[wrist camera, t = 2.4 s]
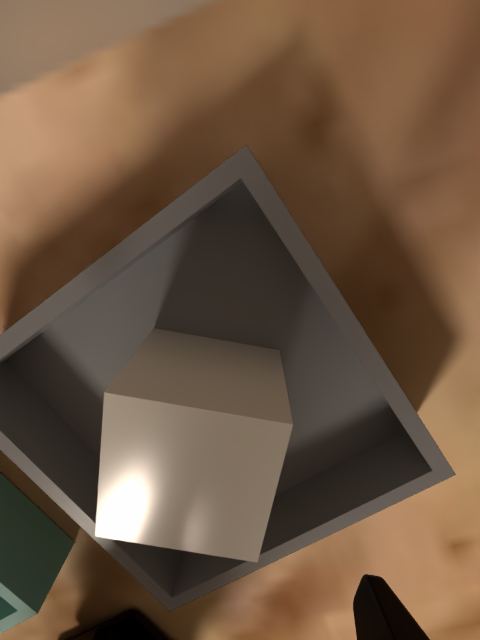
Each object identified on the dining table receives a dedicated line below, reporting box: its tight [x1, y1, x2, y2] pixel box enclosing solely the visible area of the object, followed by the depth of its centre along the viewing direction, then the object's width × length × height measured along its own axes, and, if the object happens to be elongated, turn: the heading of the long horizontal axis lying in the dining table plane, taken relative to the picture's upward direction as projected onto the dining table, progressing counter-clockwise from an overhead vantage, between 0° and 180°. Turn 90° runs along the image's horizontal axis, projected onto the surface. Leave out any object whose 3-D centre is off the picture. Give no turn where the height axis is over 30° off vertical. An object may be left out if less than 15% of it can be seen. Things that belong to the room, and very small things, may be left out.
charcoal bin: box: [0, 145, 456, 612], centre depth 14 cm, size 13×13×4 cm
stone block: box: [95, 328, 293, 562], centre depth 13 cm, size 5×5×5 cm
